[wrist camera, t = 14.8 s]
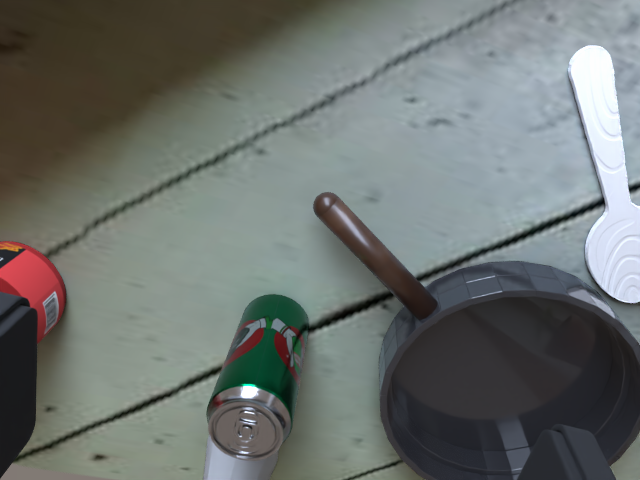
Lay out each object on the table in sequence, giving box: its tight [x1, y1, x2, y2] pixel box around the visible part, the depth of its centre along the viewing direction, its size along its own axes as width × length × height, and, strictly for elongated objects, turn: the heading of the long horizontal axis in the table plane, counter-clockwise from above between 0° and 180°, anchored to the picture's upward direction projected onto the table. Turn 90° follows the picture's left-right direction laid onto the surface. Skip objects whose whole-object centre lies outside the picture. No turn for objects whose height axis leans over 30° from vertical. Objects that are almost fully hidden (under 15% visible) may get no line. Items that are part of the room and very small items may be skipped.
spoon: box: [568, 45, 640, 304], centre depth 36 cm, size 5×18×1 cm, turn 22°
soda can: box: [207, 295, 309, 461], centre depth 37 cm, size 5×5×12 cm
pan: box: [379, 261, 640, 480], centre depth 41 cm, size 18×18×4 cm
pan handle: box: [313, 192, 438, 324], centre depth 37 cm, size 2×12×2 cm, turn 43°
